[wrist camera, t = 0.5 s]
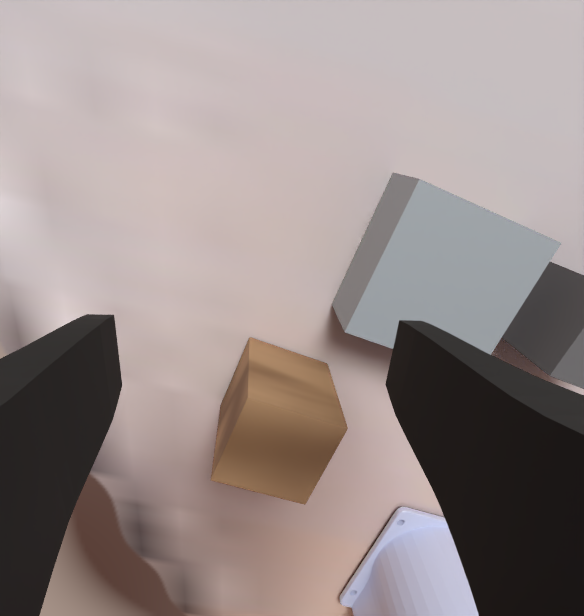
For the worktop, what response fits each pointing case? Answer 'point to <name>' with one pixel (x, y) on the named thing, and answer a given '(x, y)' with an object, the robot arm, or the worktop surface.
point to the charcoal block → (553, 325)
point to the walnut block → (277, 423)
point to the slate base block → (439, 267)
